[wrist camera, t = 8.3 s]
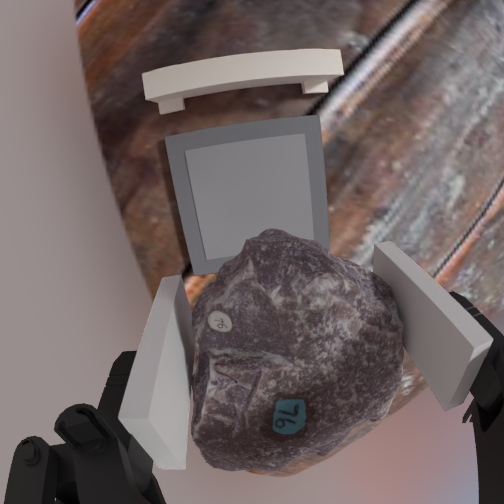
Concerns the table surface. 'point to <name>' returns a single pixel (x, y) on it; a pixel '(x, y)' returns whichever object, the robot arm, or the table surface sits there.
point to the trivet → (248, 185)
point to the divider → (241, 75)
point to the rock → (290, 354)
